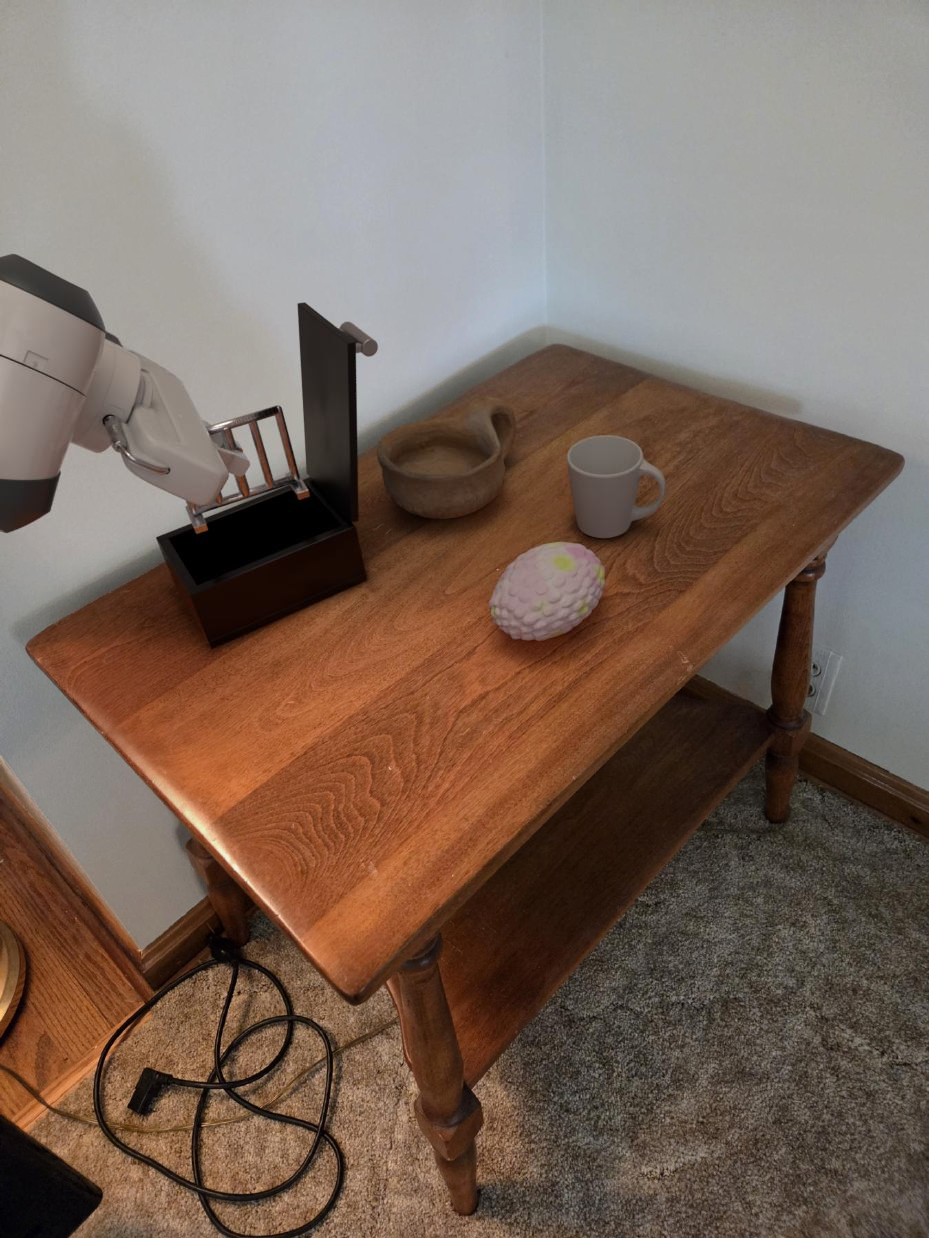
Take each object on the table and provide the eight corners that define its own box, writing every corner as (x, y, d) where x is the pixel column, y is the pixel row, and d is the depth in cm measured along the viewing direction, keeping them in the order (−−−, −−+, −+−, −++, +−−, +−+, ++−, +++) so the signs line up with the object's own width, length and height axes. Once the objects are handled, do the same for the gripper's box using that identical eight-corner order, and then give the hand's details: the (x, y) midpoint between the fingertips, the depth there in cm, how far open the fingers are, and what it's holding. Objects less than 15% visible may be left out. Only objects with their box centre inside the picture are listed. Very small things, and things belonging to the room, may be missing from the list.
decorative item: (461, 613, 81) (520, 518, 78) (497, 601, 91) (551, 517, 88) (543, 672, 79) (607, 578, 76) (570, 653, 89) (628, 569, 87)
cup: (578, 498, 100) (577, 431, 95) (669, 510, 97) (674, 441, 91) (559, 539, 95) (557, 471, 89) (654, 553, 92) (659, 483, 86)
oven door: (347, 343, 77) (393, 336, 79) (297, 303, 84) (340, 297, 86) (351, 523, 88) (391, 512, 90) (306, 473, 95) (344, 465, 97)
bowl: (430, 428, 111) (442, 358, 104) (531, 476, 109) (551, 408, 101) (350, 506, 100) (357, 435, 93) (460, 563, 97) (476, 494, 90)
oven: (211, 649, 88) (189, 595, 83) (176, 590, 95) (155, 536, 90) (367, 580, 93) (355, 525, 88) (323, 529, 100) (310, 476, 96)
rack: (196, 534, 84) (165, 451, 78) (187, 513, 87) (156, 431, 81) (310, 496, 87) (289, 413, 81) (298, 476, 90) (276, 394, 84)
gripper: (135, 418, 67) (291, 487, 76) (96, 319, 81) (232, 387, 90) (96, 487, 69) (253, 547, 78) (65, 379, 83) (201, 440, 92)
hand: (241, 460), depth 84 cm, fingers closed on rack
